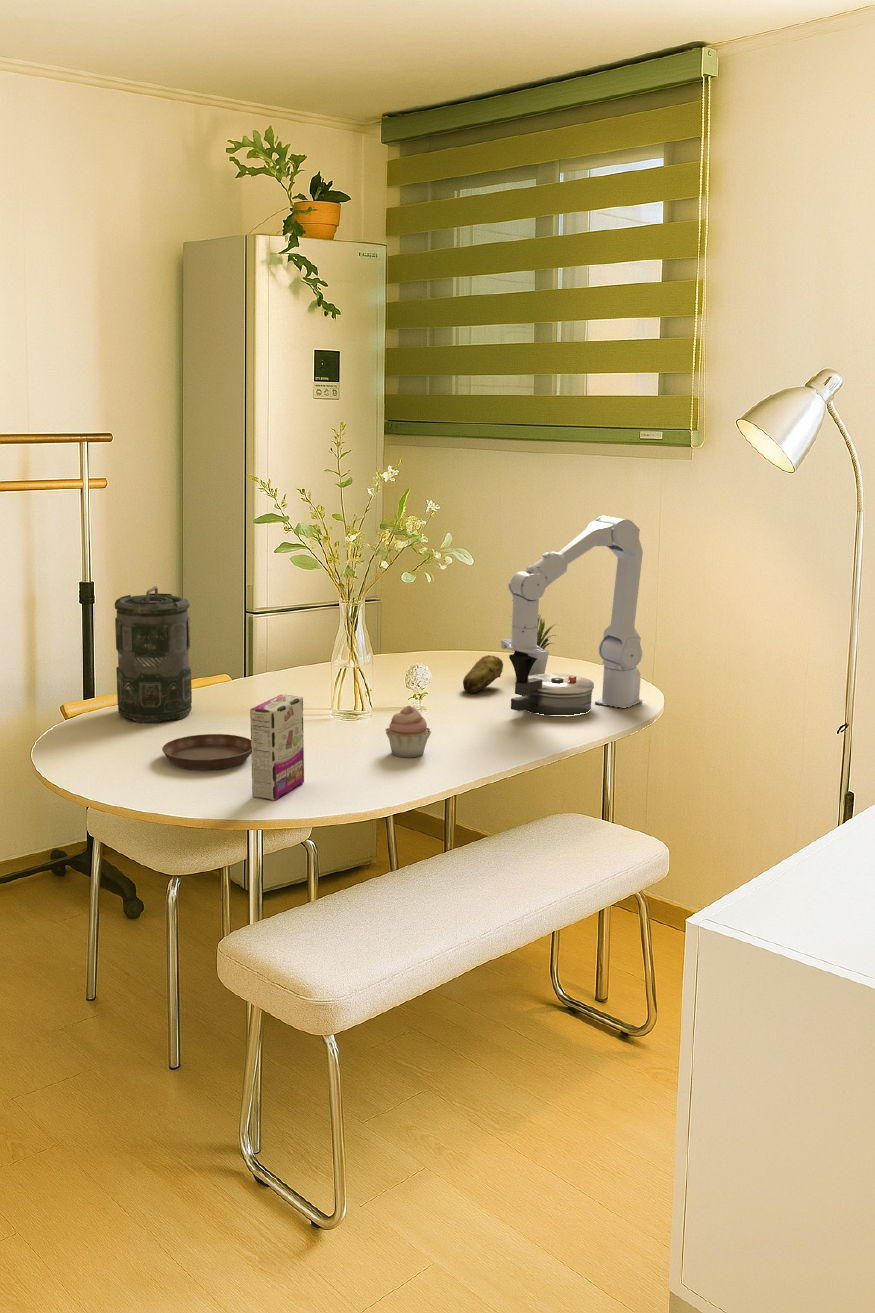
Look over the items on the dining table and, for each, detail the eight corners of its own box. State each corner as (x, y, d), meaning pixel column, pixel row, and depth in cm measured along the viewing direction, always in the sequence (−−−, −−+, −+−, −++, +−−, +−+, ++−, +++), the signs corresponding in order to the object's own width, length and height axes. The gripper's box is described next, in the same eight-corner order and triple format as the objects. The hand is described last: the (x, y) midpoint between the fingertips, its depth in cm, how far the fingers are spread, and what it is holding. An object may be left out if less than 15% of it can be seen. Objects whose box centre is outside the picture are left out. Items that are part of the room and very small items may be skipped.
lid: (551, 673, 287) (552, 662, 286) (608, 686, 275) (609, 675, 275) (490, 687, 271) (491, 676, 271) (548, 702, 260) (548, 690, 259)
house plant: (498, 667, 316) (500, 606, 312) (549, 666, 318) (551, 606, 315) (511, 680, 302) (513, 616, 299) (564, 679, 305) (567, 616, 301)
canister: (184, 724, 255) (181, 595, 249) (109, 723, 255) (105, 593, 249) (198, 705, 270) (195, 583, 264) (128, 704, 270) (124, 581, 264)
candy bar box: (280, 779, 220) (280, 693, 217) (304, 783, 219) (304, 696, 215) (249, 797, 210) (248, 707, 207) (274, 801, 209) (274, 711, 205)
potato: (449, 689, 291) (450, 657, 290) (491, 683, 299) (492, 651, 297) (470, 696, 285) (471, 663, 283) (512, 689, 292) (513, 658, 291)
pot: (552, 695, 288) (553, 675, 287) (605, 709, 276) (607, 688, 275) (488, 710, 272) (488, 689, 271) (541, 725, 261) (542, 703, 260)
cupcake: (380, 759, 234) (381, 709, 232) (388, 745, 243) (389, 698, 241) (427, 762, 233) (428, 712, 231) (434, 748, 242) (435, 700, 240)
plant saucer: (144, 759, 231) (143, 744, 230) (218, 742, 244) (218, 727, 243) (199, 780, 219) (199, 765, 219) (274, 761, 232) (274, 746, 232)
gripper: (491, 621, 270) (488, 680, 273) (530, 633, 258) (527, 694, 261) (516, 619, 273) (513, 677, 276) (556, 630, 262) (552, 690, 265)
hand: (522, 685), depth 269 cm, fingers closed, pressing on lid
